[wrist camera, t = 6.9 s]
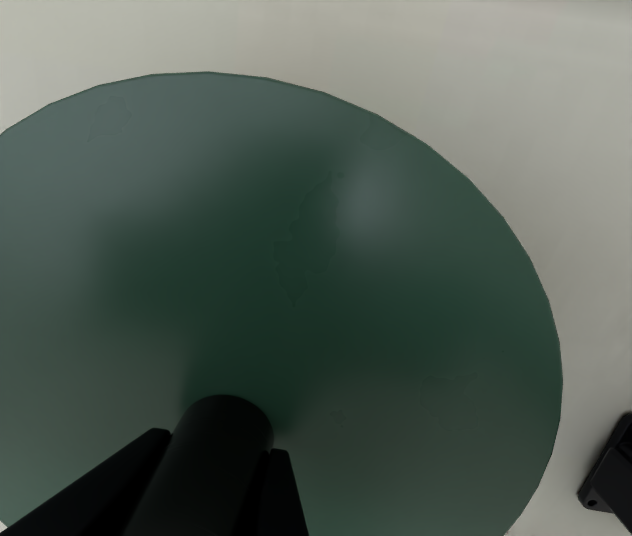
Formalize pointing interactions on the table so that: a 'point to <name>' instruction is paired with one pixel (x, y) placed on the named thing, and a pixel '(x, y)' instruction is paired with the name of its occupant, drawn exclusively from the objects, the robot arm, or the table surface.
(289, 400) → the lid
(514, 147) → the table surface
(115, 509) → the robot arm
